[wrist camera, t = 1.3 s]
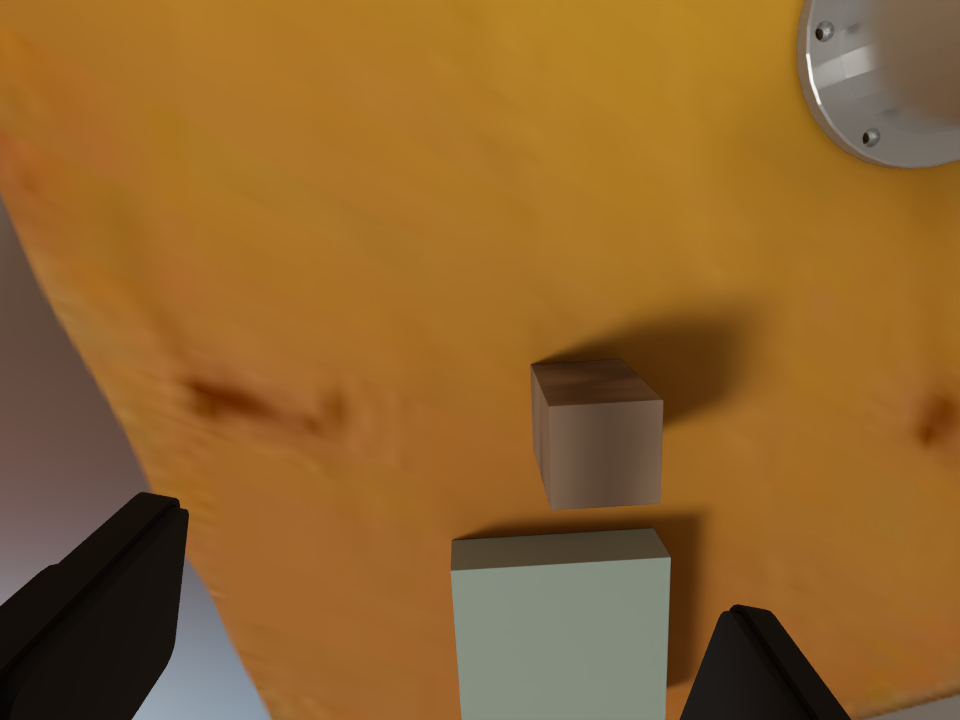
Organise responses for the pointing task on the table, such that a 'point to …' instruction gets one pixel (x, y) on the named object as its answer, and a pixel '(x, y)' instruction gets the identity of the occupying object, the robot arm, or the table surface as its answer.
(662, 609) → the plate
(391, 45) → the table surface
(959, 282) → the table surface
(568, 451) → the walnut block
